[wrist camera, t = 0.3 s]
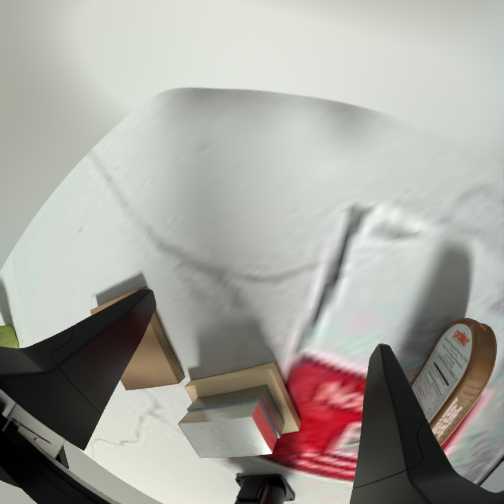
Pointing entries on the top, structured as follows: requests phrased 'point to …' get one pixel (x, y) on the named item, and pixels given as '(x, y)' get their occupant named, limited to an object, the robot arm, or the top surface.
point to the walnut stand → (149, 357)
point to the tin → (455, 375)
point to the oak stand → (248, 380)
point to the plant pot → (8, 337)
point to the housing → (233, 423)
